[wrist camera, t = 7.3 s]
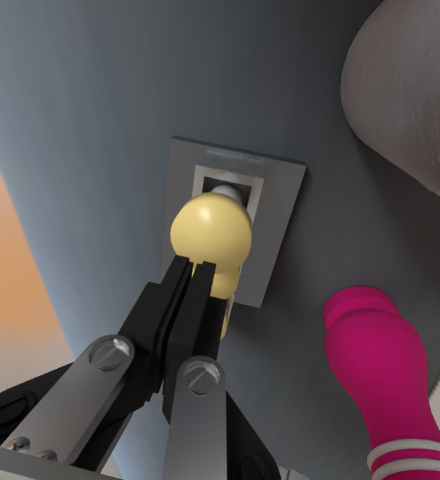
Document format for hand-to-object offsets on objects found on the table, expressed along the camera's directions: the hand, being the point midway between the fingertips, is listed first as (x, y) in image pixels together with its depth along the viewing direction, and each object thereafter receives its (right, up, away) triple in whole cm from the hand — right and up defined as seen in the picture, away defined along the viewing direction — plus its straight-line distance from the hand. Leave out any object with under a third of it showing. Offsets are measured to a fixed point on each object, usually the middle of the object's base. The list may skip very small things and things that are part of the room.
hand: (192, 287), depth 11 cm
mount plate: (+1, +3, +13) cm, 13 cm away
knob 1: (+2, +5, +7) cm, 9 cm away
